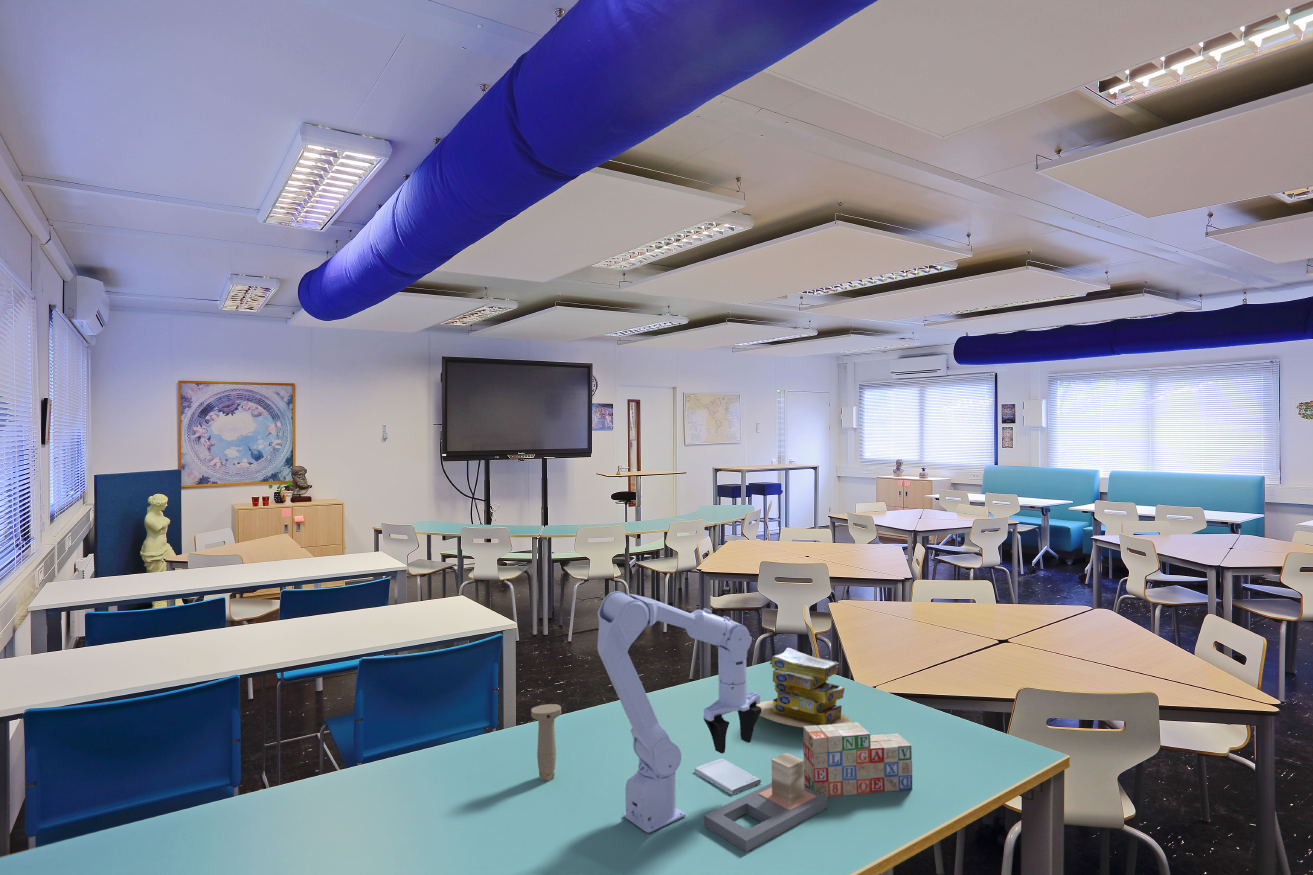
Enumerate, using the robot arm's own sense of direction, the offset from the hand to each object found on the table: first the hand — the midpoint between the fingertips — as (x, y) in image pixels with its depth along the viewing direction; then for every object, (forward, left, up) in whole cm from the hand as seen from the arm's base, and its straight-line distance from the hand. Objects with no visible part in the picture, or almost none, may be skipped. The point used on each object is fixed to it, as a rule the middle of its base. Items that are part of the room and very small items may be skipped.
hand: (733, 746), depth 141 cm
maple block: (+5, -10, -8) cm, 14 cm away
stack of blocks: (+22, -14, -10) cm, 29 cm away
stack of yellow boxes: (+40, +15, -10) cm, 44 cm away
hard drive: (+4, +6, -11) cm, 13 cm away
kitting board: (-1, -10, -10) cm, 14 cm away
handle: (-26, +31, -10) cm, 42 cm away
